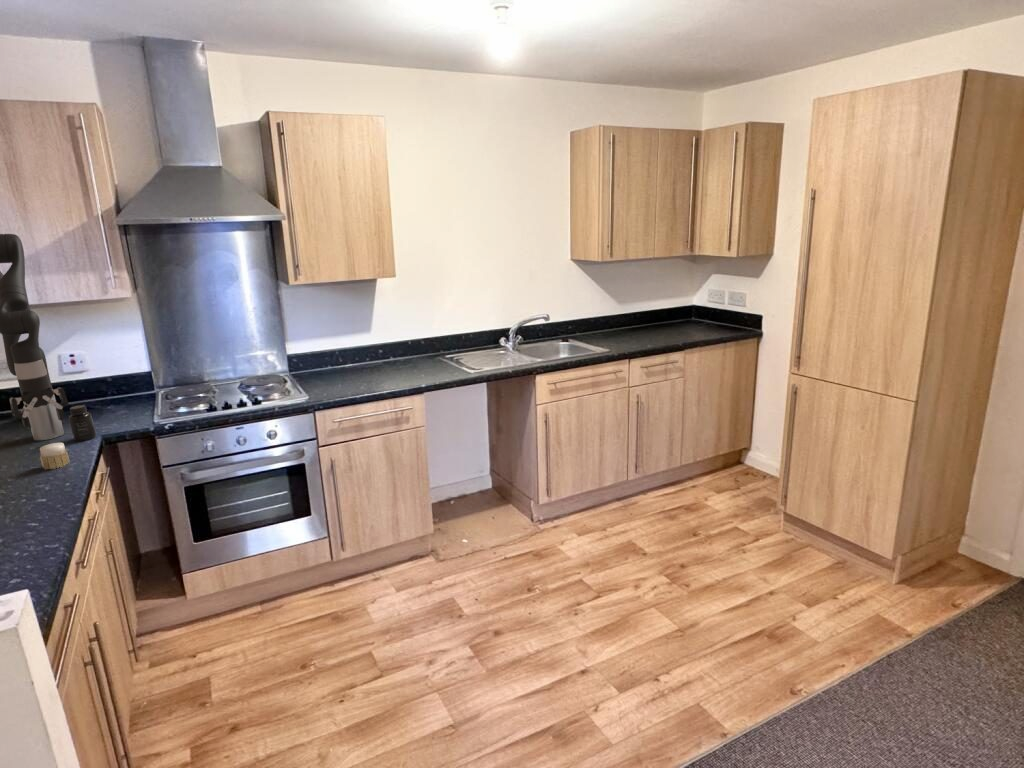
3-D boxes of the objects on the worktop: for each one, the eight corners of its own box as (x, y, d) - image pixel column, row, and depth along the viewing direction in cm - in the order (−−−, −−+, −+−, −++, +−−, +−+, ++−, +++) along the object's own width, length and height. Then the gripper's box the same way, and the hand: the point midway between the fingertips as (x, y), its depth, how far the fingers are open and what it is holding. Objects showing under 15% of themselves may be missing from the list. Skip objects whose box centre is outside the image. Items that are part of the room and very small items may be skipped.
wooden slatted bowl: (40, 466, 199) (37, 454, 198) (65, 459, 205) (62, 447, 203) (47, 471, 195) (44, 459, 194) (72, 463, 200) (69, 452, 199)
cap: (40, 461, 199) (36, 447, 198) (63, 455, 204) (60, 441, 202) (47, 466, 195) (43, 451, 194) (70, 459, 200) (66, 445, 199)
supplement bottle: (100, 434, 227) (93, 403, 224) (89, 441, 221) (81, 409, 217) (81, 435, 227) (74, 404, 224) (69, 442, 220) (61, 410, 217)
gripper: (54, 368, 199) (66, 415, 204) (0, 378, 188) (14, 428, 193) (62, 371, 194) (75, 419, 199) (7, 382, 184) (21, 433, 188)
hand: (45, 423), depth 196 cm, fingers open, 8 cm apart
